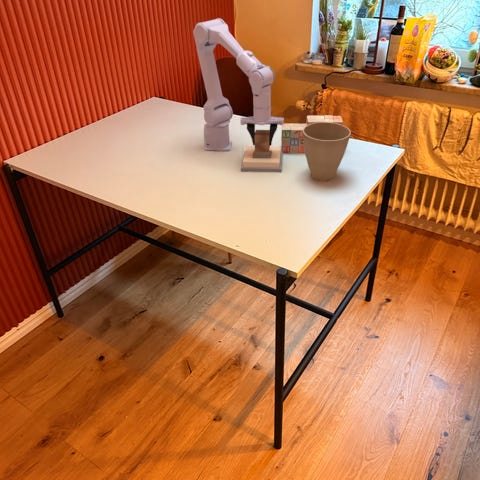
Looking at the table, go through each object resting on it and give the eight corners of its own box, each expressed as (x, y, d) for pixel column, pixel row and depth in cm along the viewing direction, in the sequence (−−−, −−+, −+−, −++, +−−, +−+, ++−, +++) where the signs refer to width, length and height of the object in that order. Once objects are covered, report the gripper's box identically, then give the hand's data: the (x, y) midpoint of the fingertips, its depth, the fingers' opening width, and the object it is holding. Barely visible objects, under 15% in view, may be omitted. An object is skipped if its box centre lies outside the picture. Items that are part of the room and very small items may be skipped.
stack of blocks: (281, 153, 166) (281, 121, 159) (281, 146, 171) (281, 115, 164) (339, 154, 164) (343, 121, 157) (338, 146, 169) (341, 115, 162)
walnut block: (254, 151, 156) (254, 135, 152) (255, 145, 160) (255, 129, 157) (269, 151, 155) (269, 135, 152) (269, 146, 159) (270, 129, 156)
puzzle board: (240, 171, 156) (240, 162, 154) (244, 153, 167) (244, 145, 165) (281, 172, 154) (281, 163, 152) (282, 154, 165) (282, 146, 163)
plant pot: (317, 191, 143) (321, 144, 134) (292, 172, 154) (293, 127, 144) (354, 179, 148) (360, 133, 139) (327, 161, 159) (331, 118, 150)
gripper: (238, 110, 146) (240, 148, 154) (283, 110, 144) (282, 149, 152) (241, 102, 151) (242, 140, 159) (284, 102, 150) (283, 140, 158)
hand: (262, 144), depth 156 cm, fingers closed on walnut block, 5 cm apart
